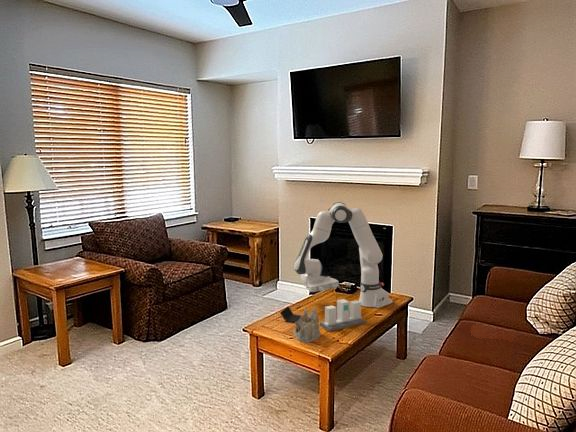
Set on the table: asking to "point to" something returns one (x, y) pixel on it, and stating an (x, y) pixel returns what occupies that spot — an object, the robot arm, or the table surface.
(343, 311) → the block
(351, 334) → the table surface
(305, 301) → the table surface
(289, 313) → the handheld gaming console
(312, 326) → the stone castle model
